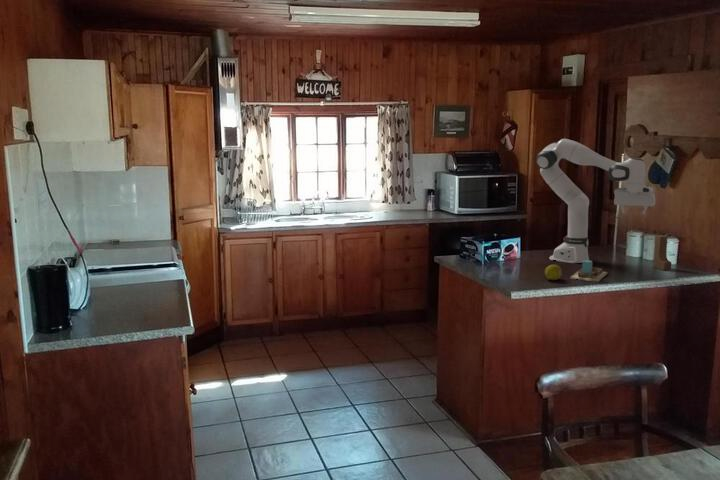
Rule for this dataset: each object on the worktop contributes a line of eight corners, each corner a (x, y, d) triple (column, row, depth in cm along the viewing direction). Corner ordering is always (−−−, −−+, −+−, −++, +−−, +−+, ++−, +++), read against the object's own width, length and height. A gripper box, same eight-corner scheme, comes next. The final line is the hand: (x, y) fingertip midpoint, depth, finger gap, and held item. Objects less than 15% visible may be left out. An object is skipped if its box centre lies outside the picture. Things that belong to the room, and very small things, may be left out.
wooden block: (671, 270, 340) (673, 237, 337) (664, 270, 339) (666, 238, 336) (660, 266, 349) (662, 234, 346) (653, 267, 348) (655, 235, 345)
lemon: (551, 282, 320) (552, 267, 318) (540, 279, 326) (540, 264, 325) (566, 279, 325) (567, 264, 324) (555, 276, 332) (555, 262, 330)
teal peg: (581, 276, 327) (582, 261, 325) (583, 275, 330) (584, 260, 329) (589, 277, 325) (590, 262, 323) (591, 275, 328) (592, 260, 327)
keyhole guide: (570, 278, 327) (570, 273, 326) (580, 271, 343) (580, 265, 343) (598, 281, 319) (598, 276, 319) (607, 273, 336) (607, 268, 335)
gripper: (613, 188, 337) (612, 213, 340) (654, 189, 326) (653, 215, 328) (615, 187, 342) (614, 212, 345) (656, 188, 331) (655, 214, 334)
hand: (633, 214), depth 336 cm, fingers open, 8 cm apart
